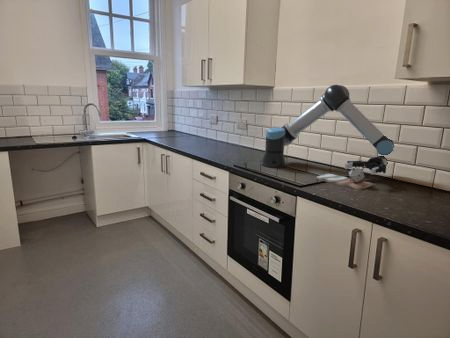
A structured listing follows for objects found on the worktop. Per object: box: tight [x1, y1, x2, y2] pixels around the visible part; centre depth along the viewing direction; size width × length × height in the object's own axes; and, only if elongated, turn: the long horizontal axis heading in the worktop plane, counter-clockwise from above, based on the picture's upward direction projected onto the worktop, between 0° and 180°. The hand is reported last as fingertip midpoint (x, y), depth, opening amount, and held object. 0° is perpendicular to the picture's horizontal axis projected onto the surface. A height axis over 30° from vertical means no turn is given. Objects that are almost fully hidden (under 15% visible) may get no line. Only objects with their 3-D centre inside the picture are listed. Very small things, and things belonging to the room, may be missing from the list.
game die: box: [346, 166, 367, 184], centre depth 153 cm, size 9×8×10 cm
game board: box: [315, 173, 373, 191], centre depth 159 cm, size 25×13×1 cm, turn 41°
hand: (358, 168), depth 153 cm, fingers open, 13 cm apart
